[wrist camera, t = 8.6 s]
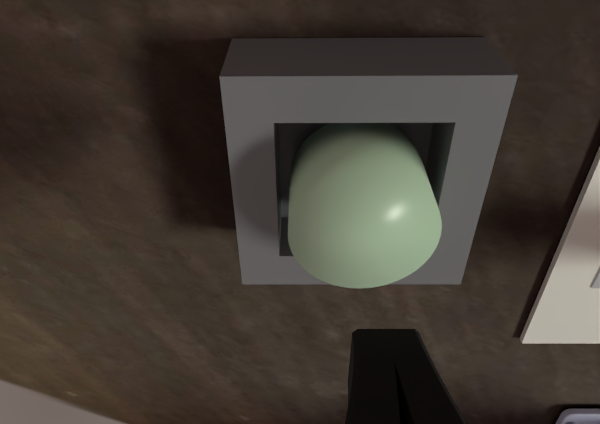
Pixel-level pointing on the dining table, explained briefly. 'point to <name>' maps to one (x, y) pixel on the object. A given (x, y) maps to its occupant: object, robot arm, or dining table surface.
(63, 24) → the dining table surface
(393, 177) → the button
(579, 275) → the paper
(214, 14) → the dining table surface
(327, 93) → the button housing
